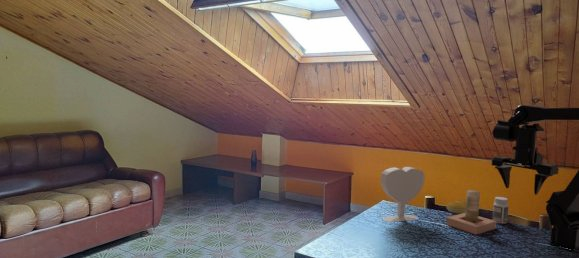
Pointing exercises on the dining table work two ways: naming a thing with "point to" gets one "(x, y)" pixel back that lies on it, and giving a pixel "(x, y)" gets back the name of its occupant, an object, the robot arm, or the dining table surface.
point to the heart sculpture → (402, 188)
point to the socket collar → (471, 224)
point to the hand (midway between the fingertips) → (521, 191)
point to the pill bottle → (500, 210)
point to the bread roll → (456, 207)
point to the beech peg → (472, 206)
